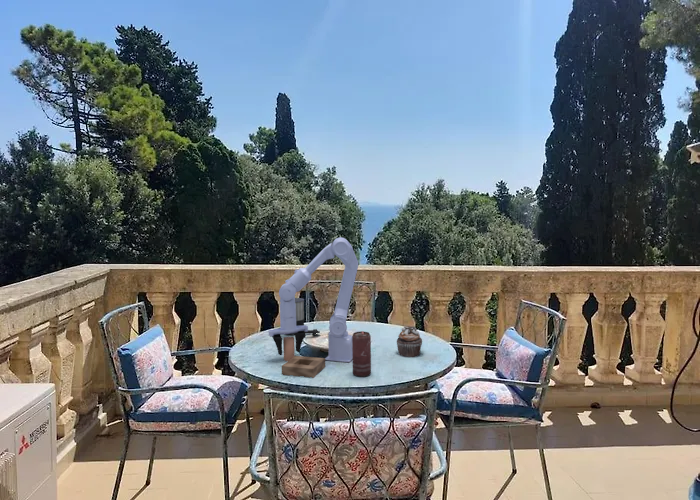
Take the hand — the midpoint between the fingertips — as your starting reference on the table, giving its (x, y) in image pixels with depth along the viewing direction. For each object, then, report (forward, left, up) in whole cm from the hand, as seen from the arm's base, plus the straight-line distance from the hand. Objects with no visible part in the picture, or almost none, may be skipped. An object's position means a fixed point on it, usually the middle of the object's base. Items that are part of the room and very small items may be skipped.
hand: (289, 352), depth 191 cm
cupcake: (-41, -18, -3) cm, 45 cm away
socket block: (-10, +10, -2) cm, 14 cm away
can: (-30, +8, -3) cm, 31 cm away
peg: (0, 0, -2) cm, 2 cm away
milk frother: (+9, -33, -3) cm, 34 cm away
